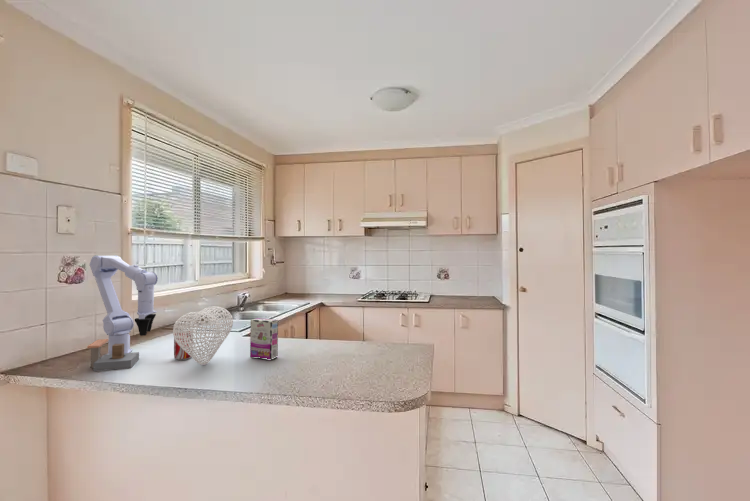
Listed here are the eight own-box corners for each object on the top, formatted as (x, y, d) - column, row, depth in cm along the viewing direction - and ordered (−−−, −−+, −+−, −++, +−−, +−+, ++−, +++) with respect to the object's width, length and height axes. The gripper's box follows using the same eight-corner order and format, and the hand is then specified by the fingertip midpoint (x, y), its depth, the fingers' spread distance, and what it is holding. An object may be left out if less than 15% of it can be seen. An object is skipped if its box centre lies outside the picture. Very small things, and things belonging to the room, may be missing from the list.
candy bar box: (278, 357, 158) (278, 319, 158) (270, 361, 154) (271, 321, 154) (257, 354, 163) (257, 317, 163) (249, 357, 158) (250, 319, 158)
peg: (114, 364, 147) (114, 343, 147) (123, 363, 148) (124, 343, 148) (111, 366, 144) (112, 345, 144) (121, 365, 145) (121, 345, 145)
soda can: (184, 361, 151) (185, 332, 151) (169, 360, 153) (170, 331, 153) (196, 356, 158) (196, 328, 158) (181, 355, 160) (182, 327, 160)
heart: (203, 354, 162) (204, 303, 162) (238, 355, 161) (239, 304, 161) (163, 375, 134) (164, 314, 134) (204, 377, 133) (205, 315, 133)
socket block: (97, 362, 148) (97, 339, 148) (138, 359, 153) (139, 336, 153) (85, 371, 137) (86, 346, 137) (130, 368, 142) (131, 343, 142)
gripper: (153, 303, 150) (152, 336, 150) (160, 298, 163) (159, 329, 163) (132, 303, 147) (132, 337, 147) (141, 299, 161) (141, 330, 161)
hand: (145, 333), depth 155 cm, fingers open, 7 cm apart
